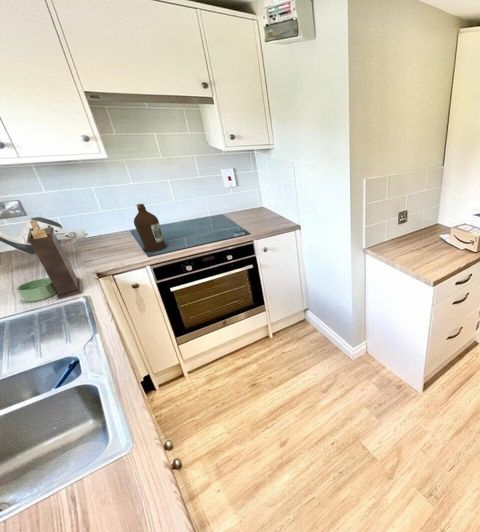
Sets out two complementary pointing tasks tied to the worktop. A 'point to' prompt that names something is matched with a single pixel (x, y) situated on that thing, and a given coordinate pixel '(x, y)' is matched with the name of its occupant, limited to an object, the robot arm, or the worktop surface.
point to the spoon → (37, 230)
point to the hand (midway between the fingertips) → (52, 236)
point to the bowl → (37, 289)
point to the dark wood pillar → (55, 263)
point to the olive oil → (149, 229)
